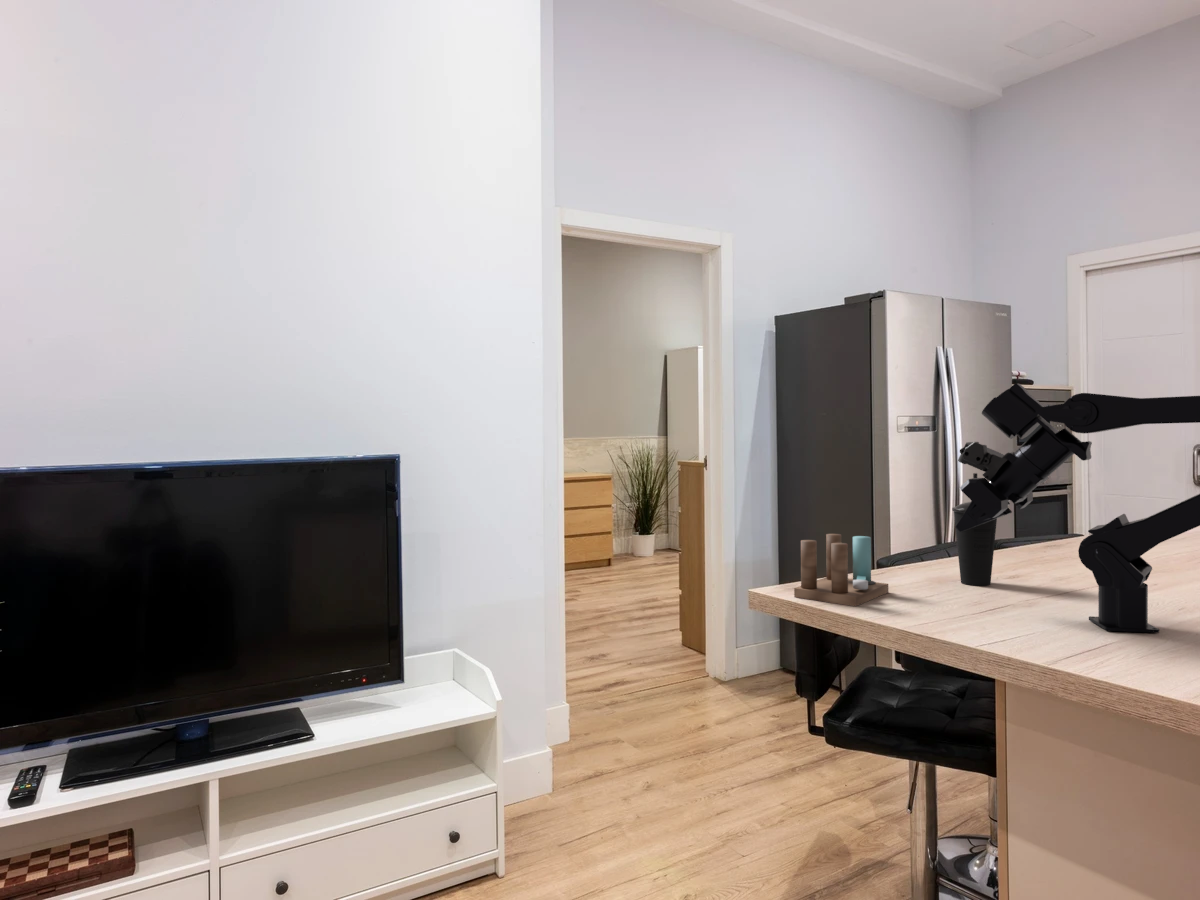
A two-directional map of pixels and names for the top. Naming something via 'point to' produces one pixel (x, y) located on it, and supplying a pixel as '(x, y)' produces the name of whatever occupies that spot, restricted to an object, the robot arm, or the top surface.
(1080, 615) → the top surface
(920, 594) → the top surface
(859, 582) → the hinged leg
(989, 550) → the drinking cup
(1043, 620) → the top surface
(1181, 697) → the top surface
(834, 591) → the brown peg stand
